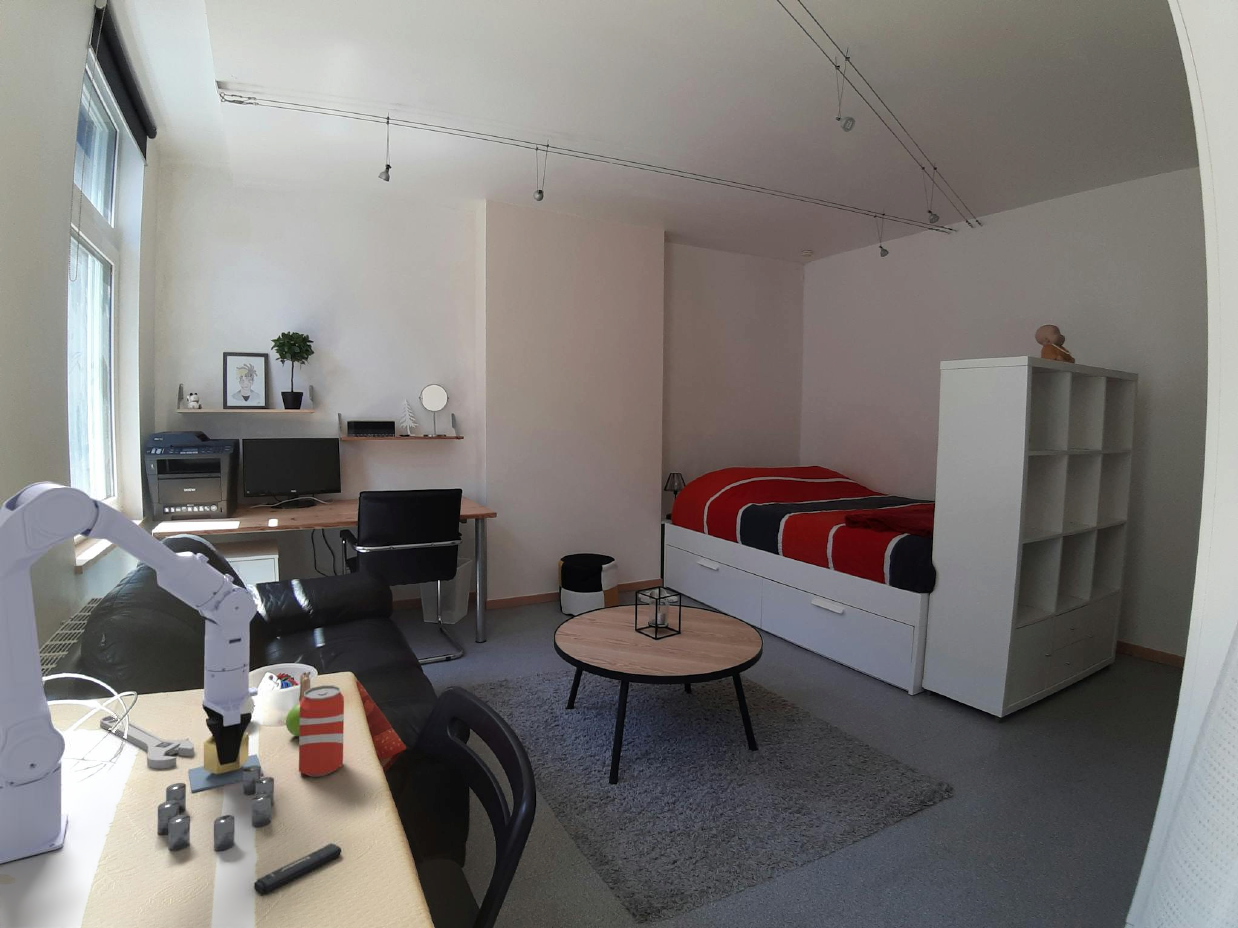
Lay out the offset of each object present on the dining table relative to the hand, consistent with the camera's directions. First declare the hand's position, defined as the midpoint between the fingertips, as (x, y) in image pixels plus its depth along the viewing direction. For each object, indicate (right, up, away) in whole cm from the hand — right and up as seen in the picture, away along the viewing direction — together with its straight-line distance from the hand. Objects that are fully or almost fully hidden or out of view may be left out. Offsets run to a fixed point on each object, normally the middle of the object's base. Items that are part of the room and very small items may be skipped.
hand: (226, 754), depth 98 cm
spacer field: (+6, -3, -12) cm, 14 cm away
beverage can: (+13, -3, +2) cm, 14 cm away
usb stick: (+21, -5, -21) cm, 30 cm away
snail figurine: (+5, -3, +13) cm, 14 cm away
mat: (0, -3, 0) cm, 3 cm away
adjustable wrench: (-19, -2, +10) cm, 21 cm away
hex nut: (0, -1, 0) cm, 2 cm away
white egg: (-9, -2, +17) cm, 19 cm away
